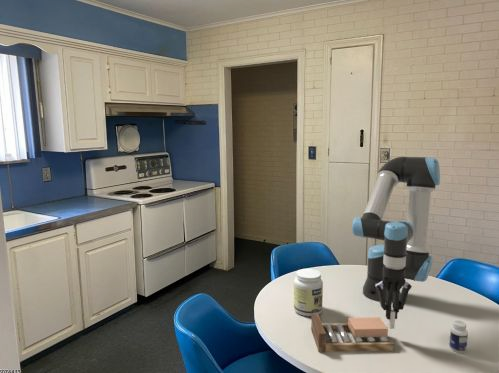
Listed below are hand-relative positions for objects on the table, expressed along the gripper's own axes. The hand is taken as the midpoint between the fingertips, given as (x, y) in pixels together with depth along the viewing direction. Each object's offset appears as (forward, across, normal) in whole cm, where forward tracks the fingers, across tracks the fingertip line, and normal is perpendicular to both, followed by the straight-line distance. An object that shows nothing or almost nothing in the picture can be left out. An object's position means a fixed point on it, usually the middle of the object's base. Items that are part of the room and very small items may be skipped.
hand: (390, 326), depth 140 cm
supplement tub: (+5, +26, -23) cm, 36 cm away
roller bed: (+4, +13, 0) cm, 14 cm away
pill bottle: (+5, -21, +7) cm, 23 cm away
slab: (+2, +9, 0) cm, 9 cm away
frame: (+5, +14, 0) cm, 15 cm away
